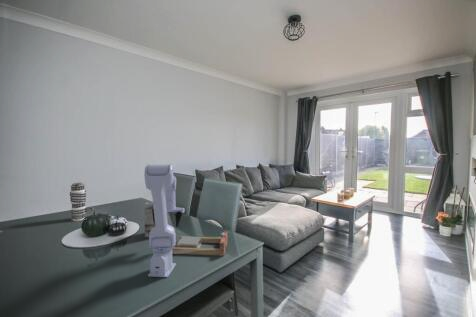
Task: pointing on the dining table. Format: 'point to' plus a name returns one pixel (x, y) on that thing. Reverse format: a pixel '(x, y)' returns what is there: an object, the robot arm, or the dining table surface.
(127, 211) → the dining table surface
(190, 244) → the lock block
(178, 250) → the coupler track
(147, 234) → the coffee box
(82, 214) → the decorative candle
